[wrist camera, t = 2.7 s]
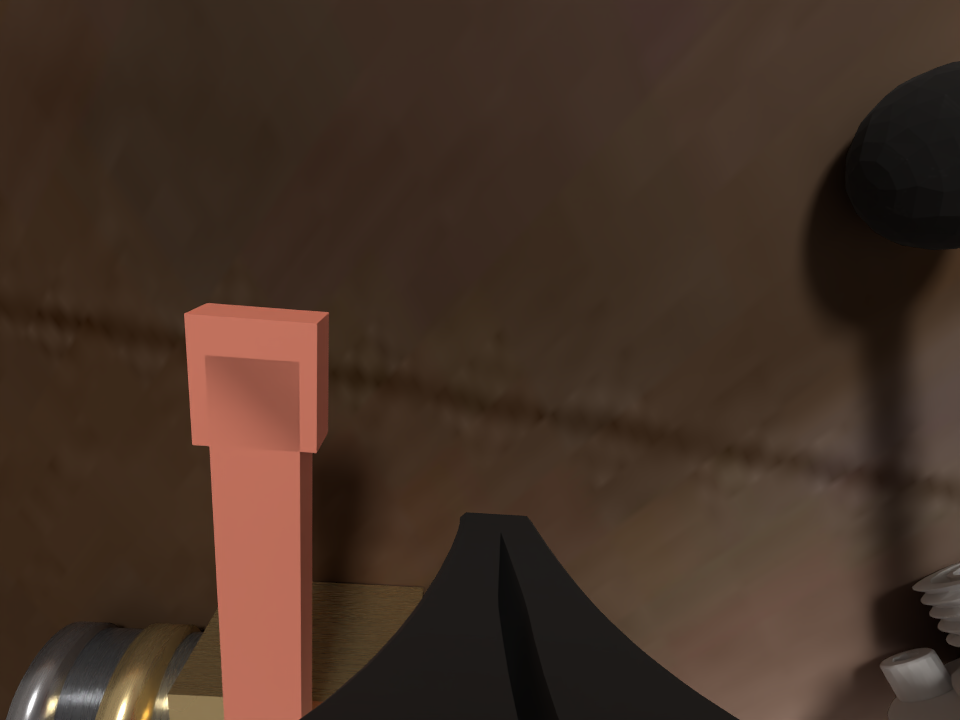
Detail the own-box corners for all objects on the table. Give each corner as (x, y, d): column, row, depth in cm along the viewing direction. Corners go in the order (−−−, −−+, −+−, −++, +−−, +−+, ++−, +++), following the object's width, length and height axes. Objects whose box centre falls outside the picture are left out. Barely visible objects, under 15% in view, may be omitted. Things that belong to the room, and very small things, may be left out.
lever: (341, 843, 16) (325, 925, 14) (234, 840, 16) (205, 921, 14) (352, 306, 11) (332, 328, 10) (206, 295, 11) (159, 315, 10)
